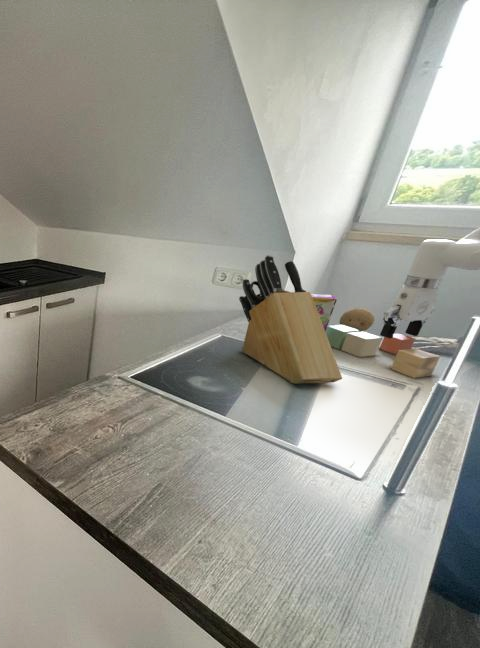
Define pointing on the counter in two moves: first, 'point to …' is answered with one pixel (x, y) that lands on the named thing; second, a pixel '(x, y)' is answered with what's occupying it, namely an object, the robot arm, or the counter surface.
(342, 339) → the sage block
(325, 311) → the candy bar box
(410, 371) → the beech block
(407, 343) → the terracotta block
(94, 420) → the counter surface
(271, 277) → the knife block
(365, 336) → the cream block
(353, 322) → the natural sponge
